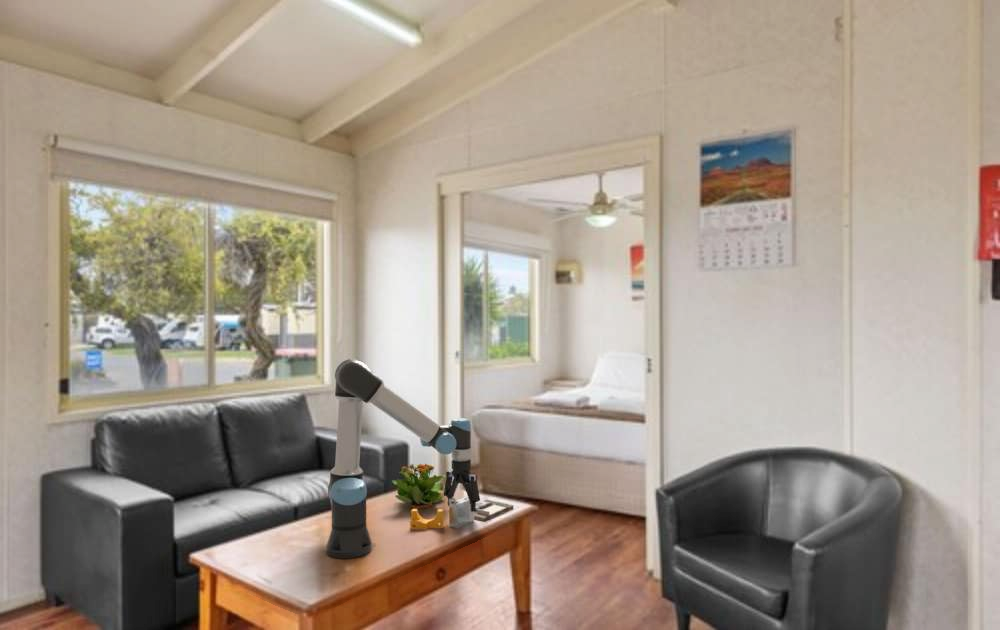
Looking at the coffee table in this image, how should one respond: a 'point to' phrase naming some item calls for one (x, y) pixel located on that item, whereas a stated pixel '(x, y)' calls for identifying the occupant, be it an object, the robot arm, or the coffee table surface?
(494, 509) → the leaf seat
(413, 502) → the potted flower
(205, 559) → the coffee table surface
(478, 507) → the hinge board
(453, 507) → the leaf block
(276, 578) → the coffee table surface
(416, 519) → the pipe clamp
